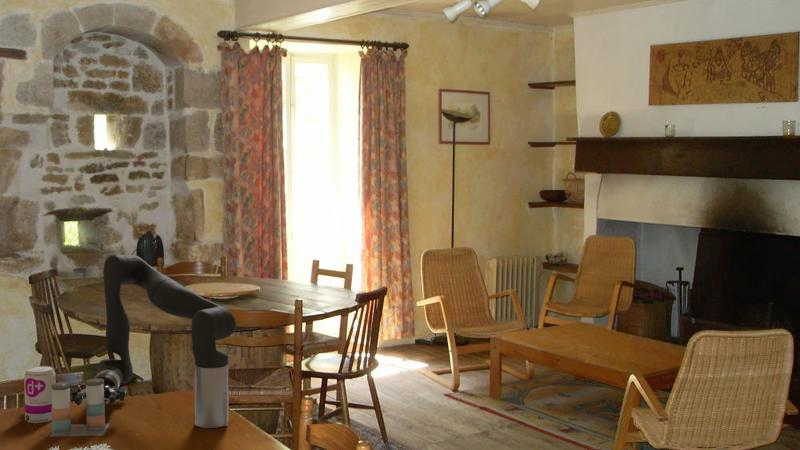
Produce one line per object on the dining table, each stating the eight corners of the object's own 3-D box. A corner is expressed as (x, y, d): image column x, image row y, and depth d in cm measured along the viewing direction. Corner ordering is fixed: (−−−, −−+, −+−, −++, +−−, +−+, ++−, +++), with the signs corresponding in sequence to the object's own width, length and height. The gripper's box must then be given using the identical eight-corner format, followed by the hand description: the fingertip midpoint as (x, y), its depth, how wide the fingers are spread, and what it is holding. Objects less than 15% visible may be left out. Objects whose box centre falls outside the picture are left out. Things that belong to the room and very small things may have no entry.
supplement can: (45, 426, 255) (44, 373, 254) (18, 423, 257) (18, 371, 255) (61, 417, 263) (61, 366, 262) (35, 415, 265) (35, 364, 263)
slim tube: (106, 425, 255) (105, 378, 254) (103, 430, 250) (102, 382, 249) (88, 425, 254) (87, 378, 253) (85, 431, 250) (83, 383, 249)
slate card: (109, 425, 257) (109, 423, 257) (103, 437, 247) (103, 435, 247) (57, 426, 255) (57, 424, 255) (49, 438, 245) (49, 436, 245)
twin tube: (72, 429, 251) (72, 382, 250) (68, 435, 246) (68, 386, 245) (54, 429, 250) (53, 382, 249) (50, 435, 245) (49, 387, 244)
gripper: (79, 372, 264) (67, 388, 248) (130, 372, 266) (121, 387, 250) (79, 398, 265) (67, 415, 249) (130, 397, 267) (121, 414, 251)
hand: (94, 401), depth 250 cm, fingers open, 8 cm apart
